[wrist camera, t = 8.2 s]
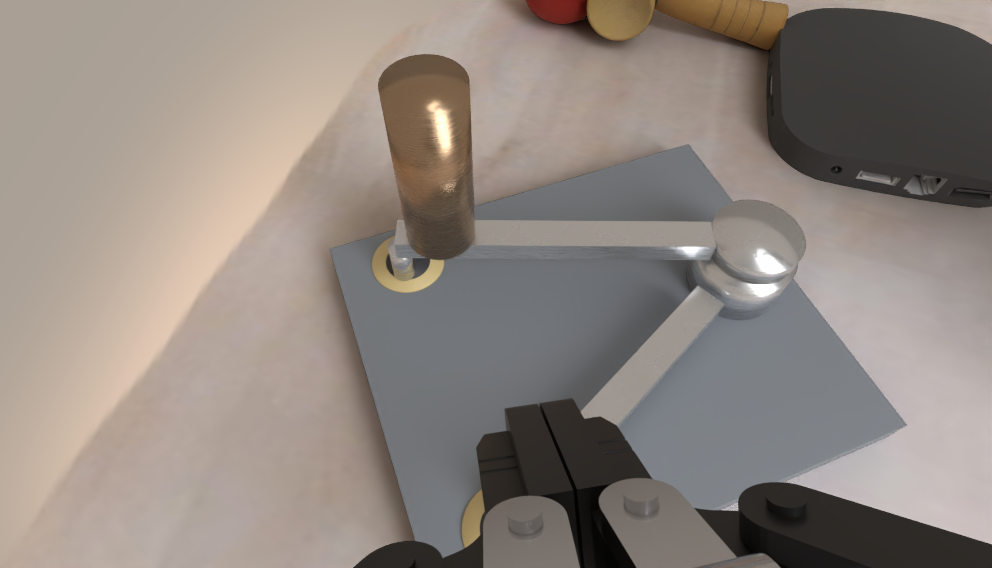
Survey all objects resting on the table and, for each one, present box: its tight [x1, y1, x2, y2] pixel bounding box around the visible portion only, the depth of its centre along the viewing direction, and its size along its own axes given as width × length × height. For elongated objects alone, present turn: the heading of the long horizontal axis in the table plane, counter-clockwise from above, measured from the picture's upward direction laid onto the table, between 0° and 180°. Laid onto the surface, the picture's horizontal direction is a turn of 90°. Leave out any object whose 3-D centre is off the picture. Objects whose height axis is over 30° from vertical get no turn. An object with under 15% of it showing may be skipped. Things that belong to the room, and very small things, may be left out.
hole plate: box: [330, 144, 907, 558], centre depth 29 cm, size 21×18×2 cm
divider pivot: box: [581, 221, 798, 428], centre depth 26 cm, size 19×4×2 cm, turn 131°
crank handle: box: [378, 54, 806, 285], centre depth 25 cm, size 18×4×11 cm, turn 90°
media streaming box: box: [767, 8, 992, 207], centre depth 38 cm, size 15×15×3 cm
